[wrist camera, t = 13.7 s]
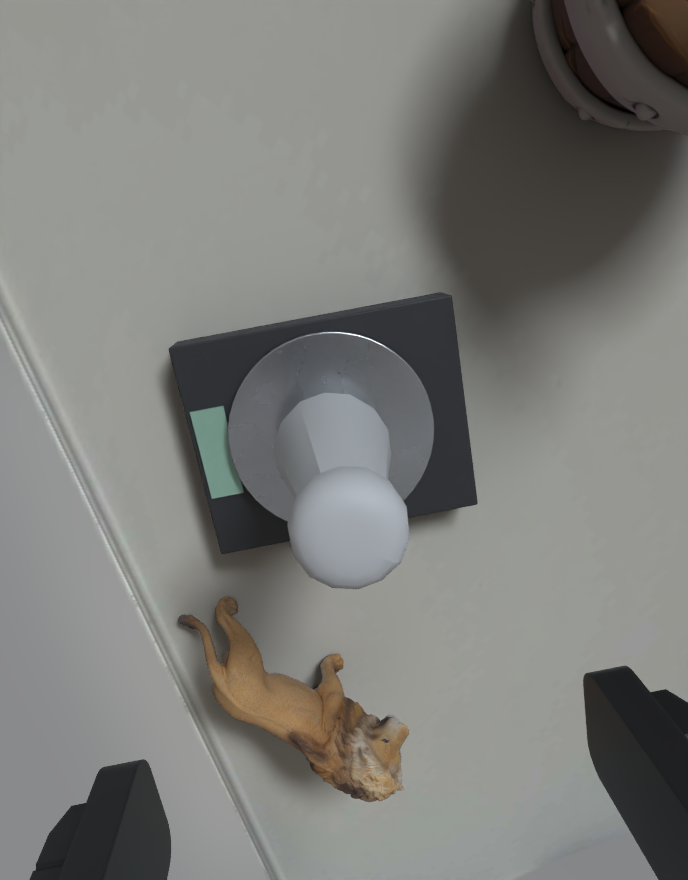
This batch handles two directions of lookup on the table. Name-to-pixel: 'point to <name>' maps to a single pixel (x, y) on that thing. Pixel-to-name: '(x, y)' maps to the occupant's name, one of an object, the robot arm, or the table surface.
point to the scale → (234, 353)
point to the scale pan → (327, 371)
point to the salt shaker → (341, 491)
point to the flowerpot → (618, 59)
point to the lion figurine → (305, 713)
